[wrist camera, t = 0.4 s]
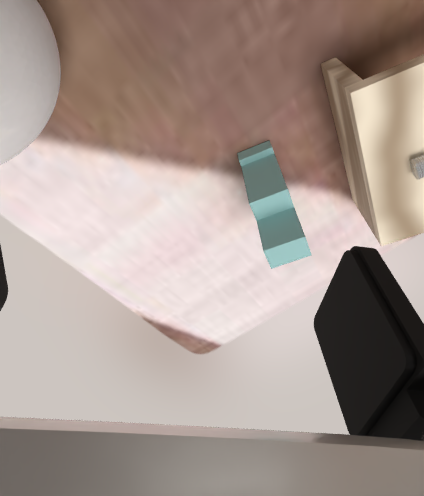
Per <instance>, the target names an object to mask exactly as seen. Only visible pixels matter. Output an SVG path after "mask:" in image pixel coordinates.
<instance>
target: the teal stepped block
mask: <svg viewBox="0 0 424 496" xmlns="http://www.w3.org/2000/svg"><path fill="white" fill-rule="evenodd" d="M237 154H238V159H239V162H240V164H241V167H242V172H243V177H244V181H245V186H246V191H247V195H248V200H249V204H250V206H251V209H252V211H253V213H254V216H255V218H256V220H257V224H258V229H259V233H260V238H261V242H262V246H263V251H264V253H265V255H266V258H267V260H268V262H269V264H270V267H271V269H272V268H275V267H278V266H281V265H284V264H287V263H290V262H293V261H296V260H299V259H302V258H305V257H308V256H310V255H311V252H310V249H309V246H308V243H307V241H306V238H305V235H304V232H303V230H302V227H301V224H300V222H299V219H298V216H297V214H296V211H295V208H294V206H293V203H292V200H291V197H290V194H289V191H288V189H287V186H286V183H285V181H284V178H283V175H282V173H281V170H280V167H279V165H278V162H277V160H276V157H275V154H274V152H273V149H272V146H271V143H270V141H266V142H264V143H261V144H259V145H257V146H254V147H252V148H249V149H247V150H244V151H242V152H239V153H237Z"/></svg>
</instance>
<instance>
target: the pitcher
mask: <svg viewBox="0 0 424 496" xmlns="http://www.w3.org/2000/svg"><path fill="white" fill-rule="evenodd" d="M60 78H61V64H60V57H59V51H58V47H57V42H56V39H55V36H54V33H53V30H52V27H51V25H50V23H49V20H48V18H47V16H46V14H45V13H44V11H43V9H42V7H41V6H40V4H39V3H38V1H37V0H0V165H1V164H3V163H5V162H7V161H9V160H10V159H12V158H13V157H15V156H16V155H17V154H19V153H20V152H22V151H23V150H24V149H25V148H27V147H28V146H29V145H30V144H31V143H32V142H33V141H34V140H35V139H36V138H37V136H38V135H39V134H40V133H41V131H42V130H43V129H44V127H45V126H46V124H47V122H48V120H49V118H50V116H51V114H52V112H53V110H54V107H55V105H56V101H57V97H58V93H59V88H60Z"/></svg>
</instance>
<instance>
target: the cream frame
mask: <svg viewBox="0 0 424 496" xmlns="http://www.w3.org/2000/svg"><path fill="white" fill-rule="evenodd" d="M321 69H322V73H323V77H324V81H325V85H326V90H327V94H328V98H329V102H330V106H331V111H332V115H333V119H334V123H335V128H336V132H337V136H338V140H339V144H340V149H341V153H342V157H343V161H344V165H345V170H346V174H347V178H348V182H349V187H350V191H351V195H352V199H353V201H354V203H355V204H356V206H357V208H358V209H359V211H360V213H361V214H362V216H363V217H364V219H365V221H366V222H367V224H368V226H369V227H370V229H371V230H372V232H373V234H374V235H375V237H376V239H377V240H378V242H379V243H380V245H381V246H384V245H387V244H390V243H393V242H396V241H399V240H402V239H406V238H409V237H412V236H415V235H418V234H421V233H424V54H423V55H421V56H419V57H416V58H414V59H411V60H409V61H407V62H404V63H402V64H400V65H397V66H395V67H392V68H390V69H388V70H385V71H383V72H381V73H378V74H376V75H373V76H371V77H369V78H366V79H364V80H362V79H361V78H360V77H359V76H358V75H356V74H355V73H354V72H353V71H352V70H350V69H349V68H348V67H347V66H345V65H344V64H343V63H342V62H341V61H339V60H338V59H337V58H336V57H335V58H333V59H331V60H328V61H326V62H324V63H322V64H321Z"/></svg>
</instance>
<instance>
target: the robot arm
mask: <svg viewBox="0 0 424 496" xmlns="http://www.w3.org/2000/svg"><path fill="white" fill-rule="evenodd" d="M7 295H8V285H7V280H6V274H5V269H4V263H3V257H2V251H1V245H0V311H1V309H2V307H3V305H4V303H5V301H6V299H7ZM314 329H315V332H316V335H317V338H318V341H319V344H320V347H321V350H322V353H323V356H324V359H325V362H326V365H327V368H328V371H329V374H330V377H331V380H332V383H333V387H334V390H335V392H336V395H337V399H338V402H339V405H340V408H341V411H342V413H343V417H344V420H345V423H346V425H347V429H348V431H349V433H350V435H344V434H326V433H309V432H308V433H307V432H291V431H274V430H255V429H239V428H219V427H200V426H181V425H162V424H142V423H122V422H102V421H100V422H99V421H81V420H59V419H37V418H16V417H0V496H424V324H423V322H422V321H421V319H420V317H419V316H418V314H417V313H416V311H415V310H414V308H413V307H412V305H411V303H410V302H409V300H408V298H407V297H406V295H405V294H404V292H403V291H402V289H401V287H400V286H399V284H398V283H397V281H396V279H395V278H394V276H393V275H392V274H391V272H390V270H389V269H388V267H387V265H386V264H385V262H384V261H383V259H382V257H381V256H380V254H379V253H378V251H377V250H376V249H374V248H367V247H358V246H354V247H353V248H351V250H350V251H349V250H348V251H346V252H345V253H344V254H343V256H342V259H341V261H340V263H339V265H338V267H337V270H336V272H335V274H334V276H333V278H332V280H331V283H330V285H329V287H328V289H327V292H326V293H325V296H324V298H323V300H322V302H321V305H320V307H319V309H318V311H317V313H316V315H315V318H314Z"/></svg>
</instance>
